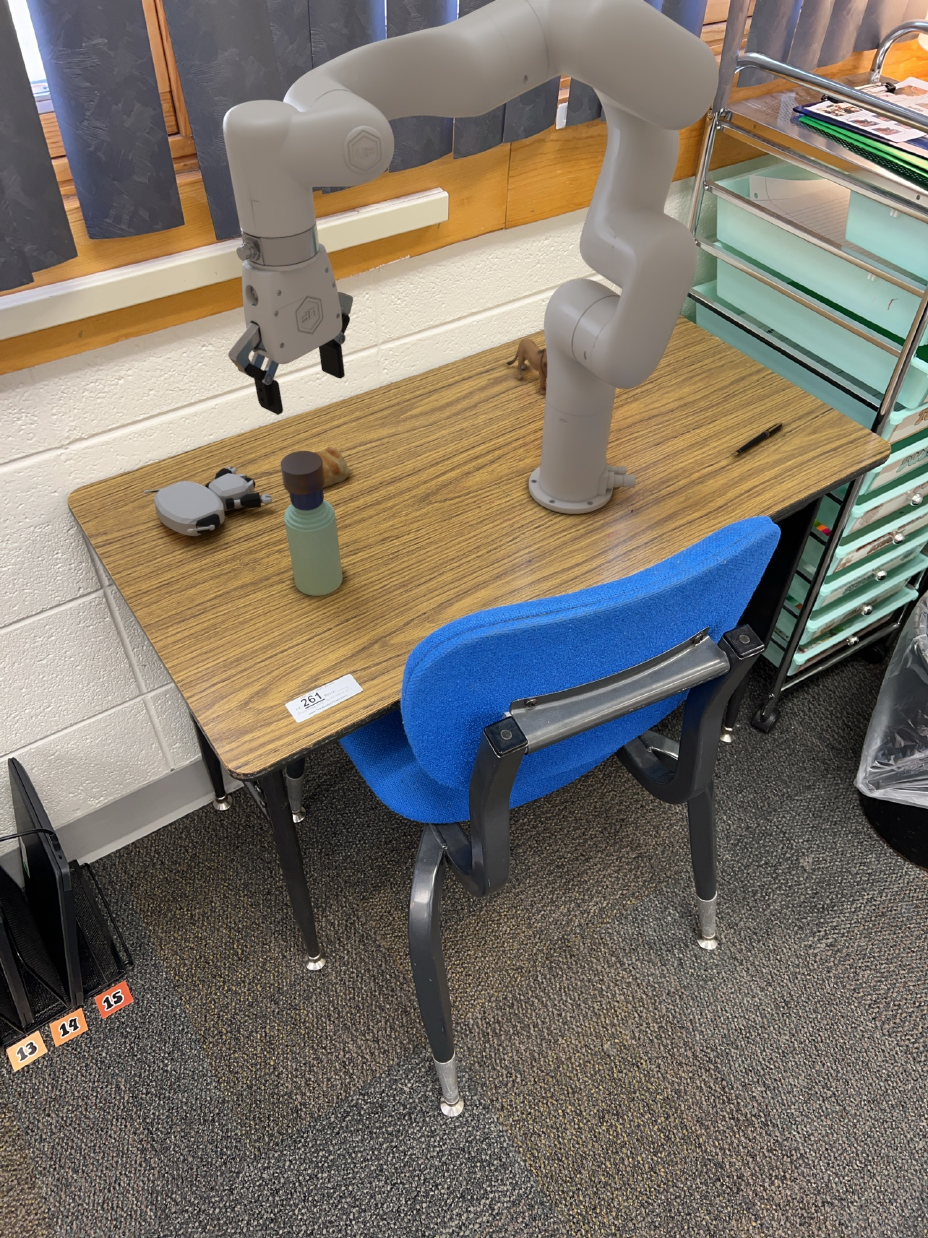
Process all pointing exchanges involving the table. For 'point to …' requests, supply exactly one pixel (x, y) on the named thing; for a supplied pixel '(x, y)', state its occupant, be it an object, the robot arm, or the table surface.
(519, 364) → the lion figurine
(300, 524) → the bottle
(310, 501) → the cap
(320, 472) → the cylinder
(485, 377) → the table surface
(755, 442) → the fountain pen
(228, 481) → the robot toy
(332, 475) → the pastry
